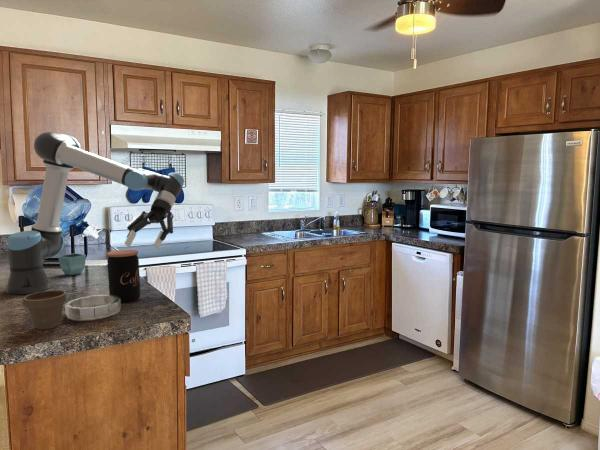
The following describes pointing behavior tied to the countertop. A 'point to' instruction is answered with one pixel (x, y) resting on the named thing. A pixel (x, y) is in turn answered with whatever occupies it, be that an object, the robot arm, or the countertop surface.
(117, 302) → the cup bracket
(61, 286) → the countertop surface
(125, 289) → the coffee jar
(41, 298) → the flower pot
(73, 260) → the flower pot
